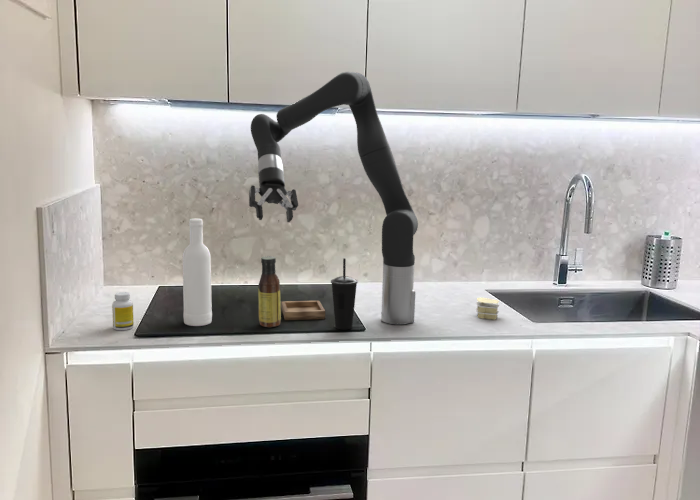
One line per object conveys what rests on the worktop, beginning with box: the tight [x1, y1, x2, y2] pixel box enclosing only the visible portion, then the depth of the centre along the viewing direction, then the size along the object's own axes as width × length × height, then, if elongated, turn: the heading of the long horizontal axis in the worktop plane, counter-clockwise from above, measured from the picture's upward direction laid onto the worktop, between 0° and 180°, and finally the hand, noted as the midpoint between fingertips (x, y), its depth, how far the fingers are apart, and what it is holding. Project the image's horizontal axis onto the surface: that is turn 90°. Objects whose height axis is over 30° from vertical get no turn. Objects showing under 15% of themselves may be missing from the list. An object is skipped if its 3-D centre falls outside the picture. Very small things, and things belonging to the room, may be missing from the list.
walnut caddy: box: [280, 300, 326, 321], centre depth 191 cm, size 12×12×2 cm
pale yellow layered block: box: [475, 297, 500, 320], centre depth 193 cm, size 10×9×6 cm
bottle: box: [182, 217, 213, 327], centre depth 178 cm, size 8×8×30 cm
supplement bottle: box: [111, 291, 135, 331], centre depth 173 cm, size 5×5×10 cm
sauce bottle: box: [257, 255, 282, 328], centre depth 178 cm, size 7×6×20 cm
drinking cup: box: [330, 257, 359, 330], centre depth 177 cm, size 8×8×20 cm
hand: (275, 219), depth 181 cm, fingers open, 8 cm apart
